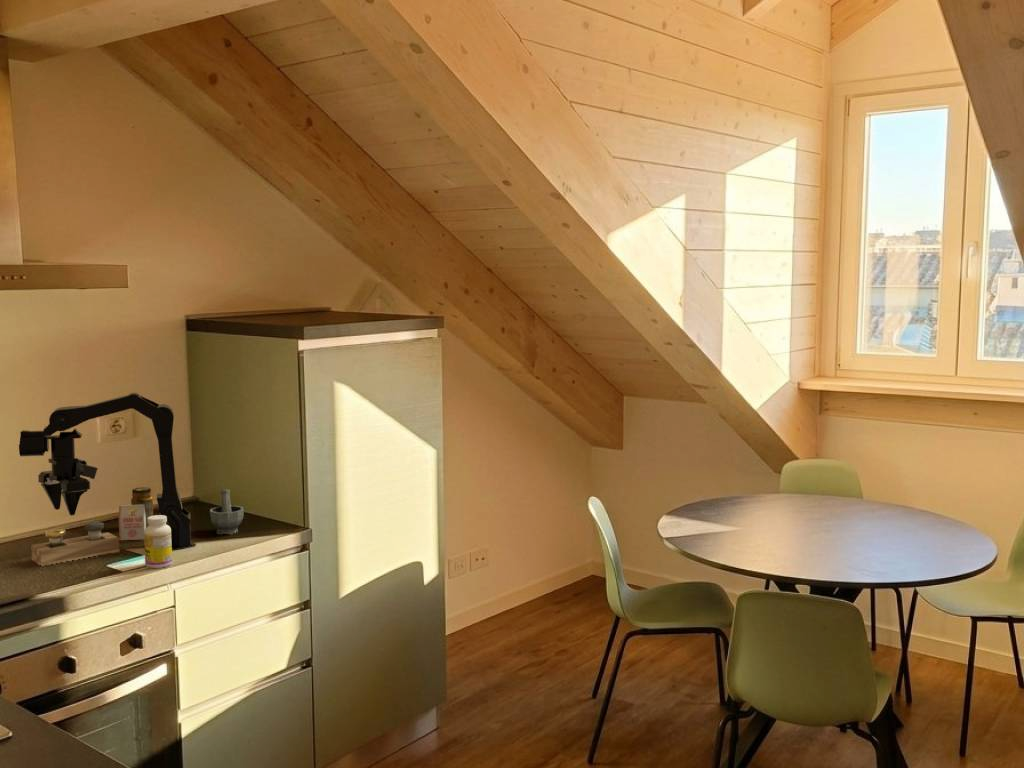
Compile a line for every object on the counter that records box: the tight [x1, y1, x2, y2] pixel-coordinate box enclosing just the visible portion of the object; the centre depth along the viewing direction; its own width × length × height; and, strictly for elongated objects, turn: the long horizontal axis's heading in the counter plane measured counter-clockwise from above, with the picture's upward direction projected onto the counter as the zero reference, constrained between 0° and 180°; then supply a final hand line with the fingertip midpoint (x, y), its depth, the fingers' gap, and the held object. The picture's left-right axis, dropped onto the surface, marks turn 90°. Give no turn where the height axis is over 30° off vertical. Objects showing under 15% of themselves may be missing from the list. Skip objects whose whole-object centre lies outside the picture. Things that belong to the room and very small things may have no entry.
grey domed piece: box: [84, 522, 105, 541], centre depth 264 cm, size 5×5×4 cm
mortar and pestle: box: [209, 488, 245, 536], centre depth 287 cm, size 11×9×12 cm
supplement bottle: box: [143, 514, 173, 569], centre depth 252 cm, size 7×7×13 cm
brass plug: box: [45, 528, 66, 548], centre depth 257 cm, size 5×5×4 cm
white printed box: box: [118, 504, 146, 542], centre depth 278 cm, size 4×7×10 cm, turn 103°
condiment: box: [130, 486, 154, 528], centre depth 290 cm, size 7×8×12 cm
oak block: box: [30, 531, 120, 567], centre depth 261 cm, size 8×20×4 cm, turn 133°
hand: (64, 512), depth 261 cm, fingers open, 9 cm apart
